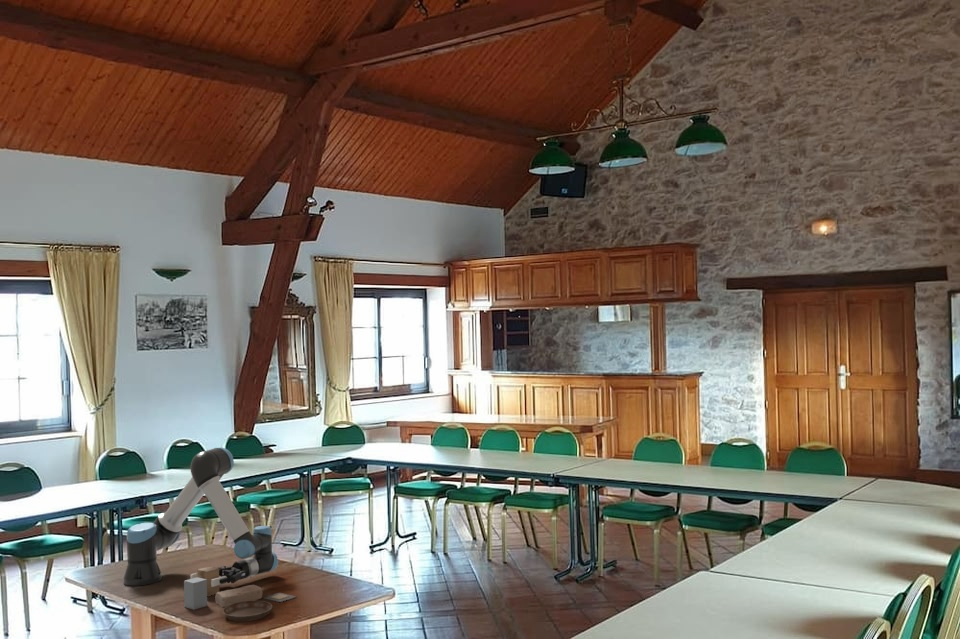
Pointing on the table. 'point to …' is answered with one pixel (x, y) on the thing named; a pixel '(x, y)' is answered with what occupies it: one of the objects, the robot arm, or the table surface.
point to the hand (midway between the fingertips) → (201, 580)
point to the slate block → (195, 593)
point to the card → (279, 597)
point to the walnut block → (209, 578)
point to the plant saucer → (247, 610)
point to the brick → (238, 595)
